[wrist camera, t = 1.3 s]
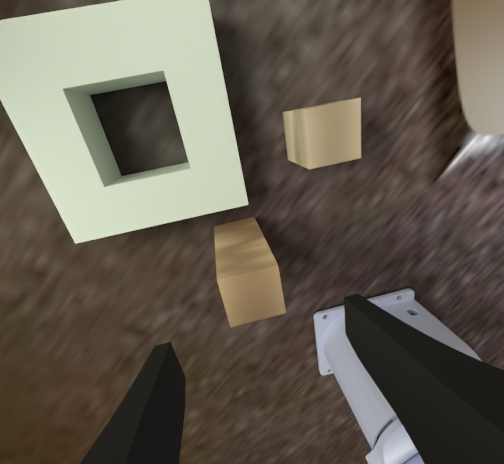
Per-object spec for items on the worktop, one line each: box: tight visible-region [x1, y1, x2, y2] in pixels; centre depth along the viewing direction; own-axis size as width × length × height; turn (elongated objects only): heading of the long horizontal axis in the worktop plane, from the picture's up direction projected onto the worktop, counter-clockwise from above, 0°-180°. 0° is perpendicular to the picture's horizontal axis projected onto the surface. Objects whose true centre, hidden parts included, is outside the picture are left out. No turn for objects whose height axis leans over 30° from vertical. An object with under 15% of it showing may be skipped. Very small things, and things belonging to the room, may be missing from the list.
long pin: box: [214, 217, 286, 327], centre depth 16 cm, size 3×3×7 cm
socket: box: [0, 0, 249, 244], centre depth 14 cm, size 10×10×3 cm
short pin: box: [282, 98, 361, 169], centre depth 15 cm, size 3×3×4 cm
